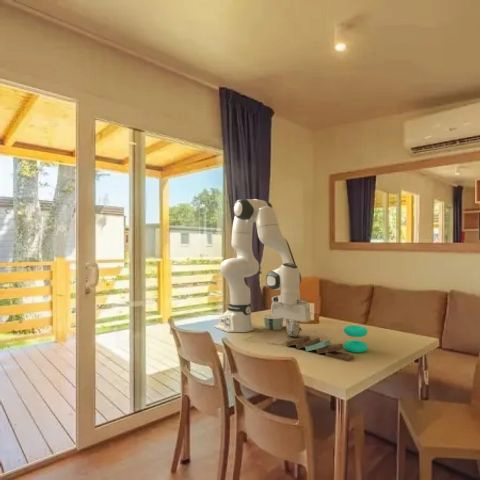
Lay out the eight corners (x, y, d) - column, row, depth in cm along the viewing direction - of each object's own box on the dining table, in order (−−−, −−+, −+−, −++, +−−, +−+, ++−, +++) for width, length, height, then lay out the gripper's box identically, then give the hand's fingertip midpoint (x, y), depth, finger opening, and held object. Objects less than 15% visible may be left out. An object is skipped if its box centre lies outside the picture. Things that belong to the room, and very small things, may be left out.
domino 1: (285, 342, 169) (302, 337, 162) (292, 340, 172) (309, 335, 165) (287, 346, 168) (303, 342, 161) (294, 344, 172) (310, 339, 165)
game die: (295, 343, 186) (306, 326, 187) (293, 341, 178) (305, 324, 180) (281, 333, 190) (292, 316, 191) (278, 330, 182) (290, 314, 183)
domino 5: (325, 352, 154) (347, 357, 147) (331, 350, 158) (353, 354, 151) (325, 357, 154) (347, 362, 147) (331, 354, 158) (353, 359, 151)
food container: (284, 330, 197) (284, 318, 197) (261, 330, 199) (261, 318, 199) (284, 325, 209) (284, 314, 209) (263, 325, 210) (263, 313, 210)
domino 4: (316, 349, 157) (337, 345, 151) (321, 346, 161) (342, 343, 155) (317, 353, 157) (338, 350, 151) (323, 351, 161) (343, 348, 155)
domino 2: (295, 344, 165) (312, 339, 158) (302, 342, 168) (319, 337, 162) (296, 349, 164) (314, 344, 157) (303, 346, 168) (320, 341, 161)
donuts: (362, 331, 155) (339, 327, 162) (362, 355, 155) (340, 350, 162) (370, 326, 163) (349, 323, 169) (371, 349, 163) (349, 345, 169)
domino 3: (304, 347, 161) (323, 342, 155) (311, 344, 165) (329, 339, 158) (306, 351, 160) (325, 346, 154) (312, 349, 164) (331, 344, 158)
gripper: (313, 300, 165) (313, 331, 165) (277, 295, 179) (277, 324, 179) (305, 302, 160) (305, 334, 160) (268, 297, 174) (269, 326, 174)
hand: (290, 328), depth 170 cm, fingers closed
